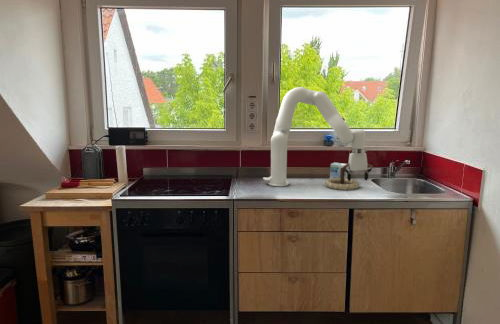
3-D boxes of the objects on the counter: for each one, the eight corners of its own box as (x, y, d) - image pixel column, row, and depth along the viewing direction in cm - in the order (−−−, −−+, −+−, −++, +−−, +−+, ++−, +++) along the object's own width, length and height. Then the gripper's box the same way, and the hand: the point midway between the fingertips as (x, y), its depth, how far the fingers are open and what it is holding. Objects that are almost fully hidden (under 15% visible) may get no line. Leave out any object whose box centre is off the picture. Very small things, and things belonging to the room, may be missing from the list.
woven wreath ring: (328, 190, 194) (329, 185, 193) (322, 182, 213) (322, 177, 213) (363, 190, 194) (363, 185, 193) (353, 182, 213) (353, 177, 213)
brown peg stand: (337, 187, 200) (338, 168, 198) (334, 185, 207) (335, 166, 205) (349, 187, 200) (350, 168, 198) (346, 185, 207) (347, 166, 205)
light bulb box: (329, 180, 219) (330, 163, 217) (333, 178, 224) (334, 162, 223) (345, 182, 213) (346, 165, 211) (349, 180, 218) (350, 163, 217)
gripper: (371, 149, 203) (370, 178, 206) (341, 150, 204) (341, 179, 207) (375, 151, 196) (374, 181, 199) (344, 152, 196) (344, 181, 199)
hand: (357, 180), depth 203 cm, fingers open, 9 cm apart
